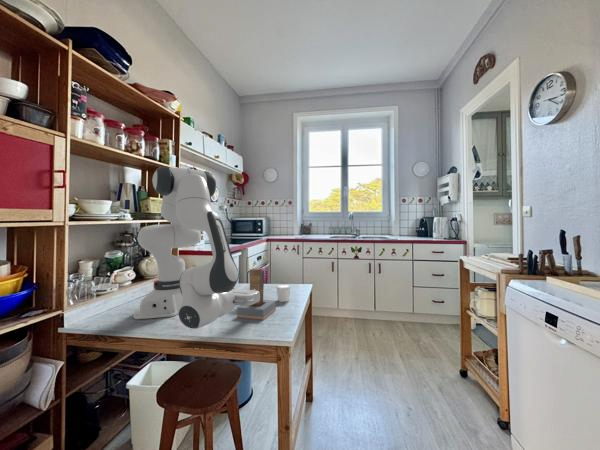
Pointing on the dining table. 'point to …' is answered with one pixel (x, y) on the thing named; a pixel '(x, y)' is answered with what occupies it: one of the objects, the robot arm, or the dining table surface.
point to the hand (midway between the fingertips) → (243, 290)
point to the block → (256, 283)
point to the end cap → (257, 310)
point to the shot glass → (283, 292)
